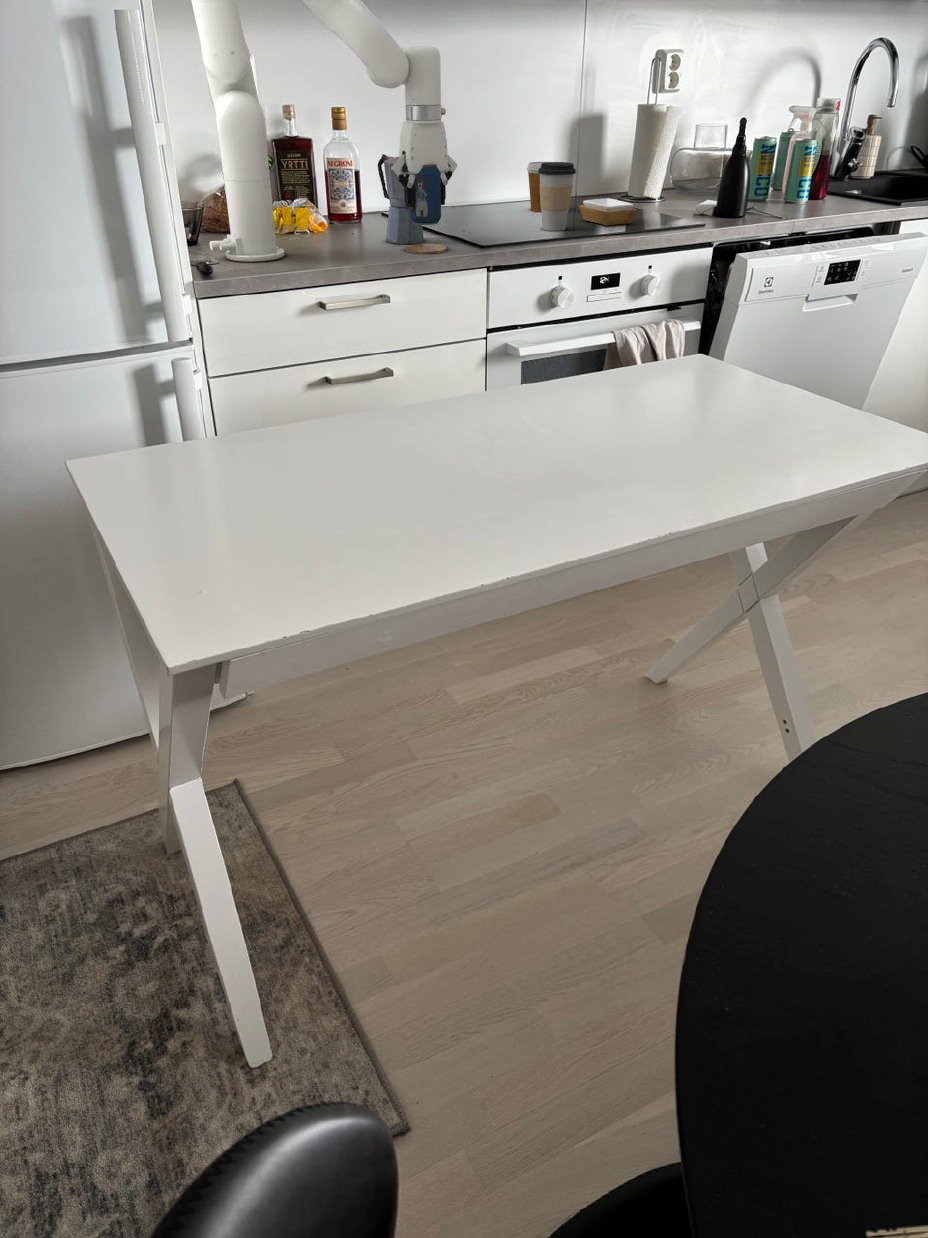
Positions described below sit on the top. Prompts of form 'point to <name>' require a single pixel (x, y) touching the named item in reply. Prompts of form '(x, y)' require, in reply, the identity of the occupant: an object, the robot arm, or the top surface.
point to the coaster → (425, 248)
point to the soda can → (427, 196)
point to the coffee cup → (555, 194)
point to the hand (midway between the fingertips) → (425, 204)
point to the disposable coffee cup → (534, 185)
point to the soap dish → (607, 211)
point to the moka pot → (397, 207)
